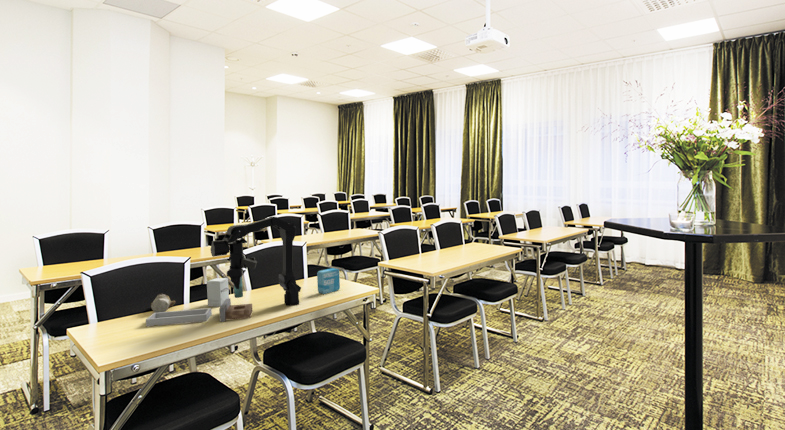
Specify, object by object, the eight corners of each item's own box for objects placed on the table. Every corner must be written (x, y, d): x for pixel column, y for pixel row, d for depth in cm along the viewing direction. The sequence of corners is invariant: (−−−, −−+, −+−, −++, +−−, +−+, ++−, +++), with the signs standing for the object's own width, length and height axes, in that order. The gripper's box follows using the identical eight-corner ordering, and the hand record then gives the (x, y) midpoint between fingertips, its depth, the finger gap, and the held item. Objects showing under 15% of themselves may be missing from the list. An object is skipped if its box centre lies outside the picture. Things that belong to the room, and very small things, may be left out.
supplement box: (221, 306, 204) (219, 281, 203) (207, 306, 206) (205, 281, 205) (229, 302, 211) (228, 277, 210) (216, 302, 213) (215, 277, 212)
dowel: (243, 295, 191) (242, 273, 191) (242, 297, 188) (241, 275, 187) (235, 296, 191) (233, 274, 190) (233, 298, 187) (232, 276, 186)
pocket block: (252, 312, 195) (252, 303, 195) (249, 318, 185) (249, 309, 185) (229, 314, 193) (229, 305, 193) (226, 320, 183) (225, 311, 183)
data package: (323, 294, 222) (322, 272, 221) (317, 293, 225) (316, 271, 224) (340, 290, 231) (339, 268, 230) (334, 288, 234) (333, 267, 233)
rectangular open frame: (211, 314, 192) (211, 308, 192) (206, 321, 182) (206, 314, 182) (154, 319, 187) (153, 312, 187) (146, 326, 177) (145, 319, 177)
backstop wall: (231, 310, 196) (230, 298, 196) (225, 321, 181) (224, 307, 180) (226, 311, 196) (225, 298, 196) (220, 322, 180) (219, 308, 180)
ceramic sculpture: (145, 296, 193) (152, 291, 207) (146, 315, 193) (152, 308, 207) (171, 294, 196) (176, 289, 210) (172, 312, 196) (176, 306, 210)
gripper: (252, 255, 180) (254, 291, 181) (257, 249, 199) (259, 282, 200) (225, 257, 178) (227, 293, 179) (232, 251, 196) (234, 283, 197)
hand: (238, 287), depth 189 cm, fingers closed on dowel, 4 cm apart
